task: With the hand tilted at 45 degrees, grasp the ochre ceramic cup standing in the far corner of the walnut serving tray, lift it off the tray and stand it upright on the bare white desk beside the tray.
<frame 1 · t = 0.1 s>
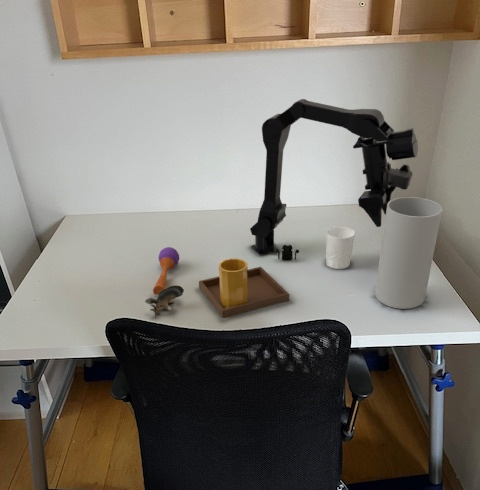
hand: (383, 220, 144), 15 cm above the table, tool pointing down, fingers open, 9 cm apart
white cup: (337, 264, 156), on the table
tray: (243, 296, 142), on the table
wireless earbuds: (286, 260, 159), on the table
cylinder vase: (399, 298, 140), on the table
eagle figurine: (166, 310, 137), on the table
cup: (234, 303, 138), point 1 cm above the table, touching tray
maraca: (166, 279, 151), on the table
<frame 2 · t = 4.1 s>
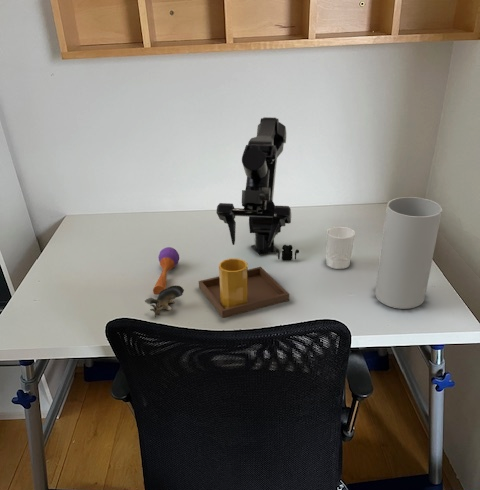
hand: (251, 245, 136), 14 cm above the table, tool tilted 45°, fingers open, 9 cm apart
nothing on the table moved.
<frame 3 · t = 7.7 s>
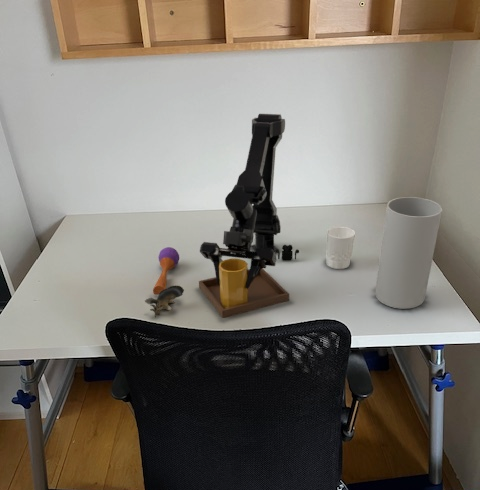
hand: (232, 286, 133), 7 cm above the table, tool tilted 45°, fingers closed on cup, 7 cm apart
cup: (234, 303, 138), point 1 cm above the table, touching gripper, tray
everything else where it was.
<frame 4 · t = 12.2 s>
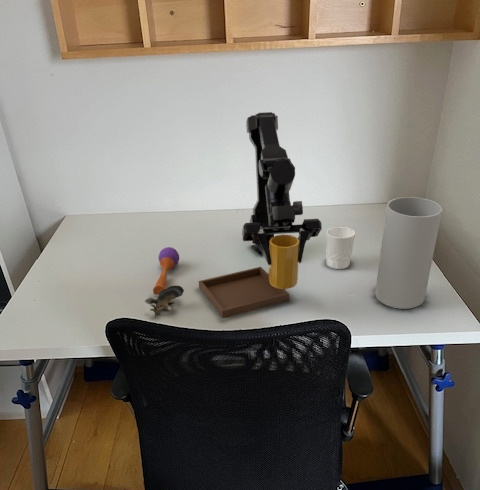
hand: (284, 263, 128), 13 cm above the table, tool tilted 45°, fingers closed on cup, 7 cm apart
cup: (283, 282, 133), point 8 cm above the table, touching gripper
everything else where it was.
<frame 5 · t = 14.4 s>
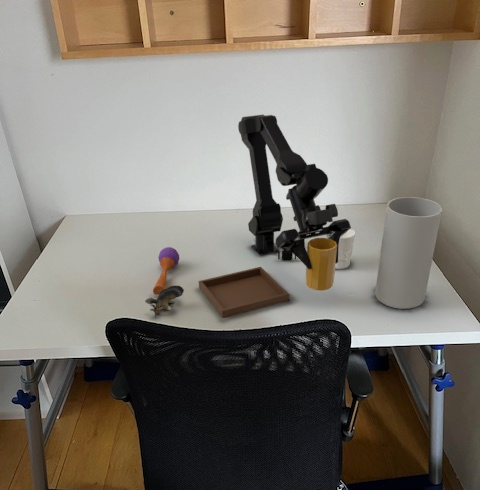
hand: (323, 265, 132), 11 cm above the table, tool tilted 45°, fingers closed on cup, 7 cm apart
cup: (319, 283, 136), point 5 cm above the table, touching gripper
everything else where it was.
when the fingers open (6 cm above the table, at t = 16.5 s): cup stays where it is, on the table.
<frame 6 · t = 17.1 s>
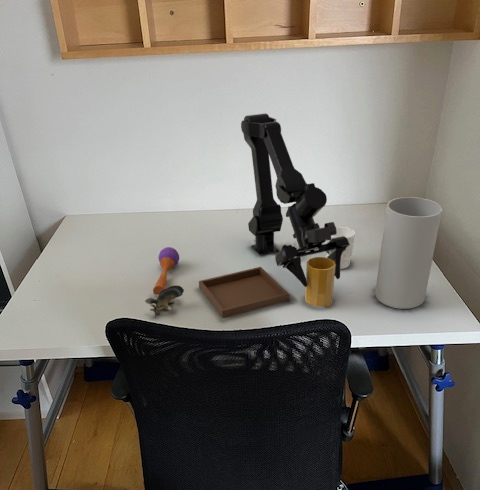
hand: (322, 282, 135), 6 cm above the table, tool tilted 45°, fingers open, 9 cm apart
cup: (318, 301, 139), on the table
everything else where it was.
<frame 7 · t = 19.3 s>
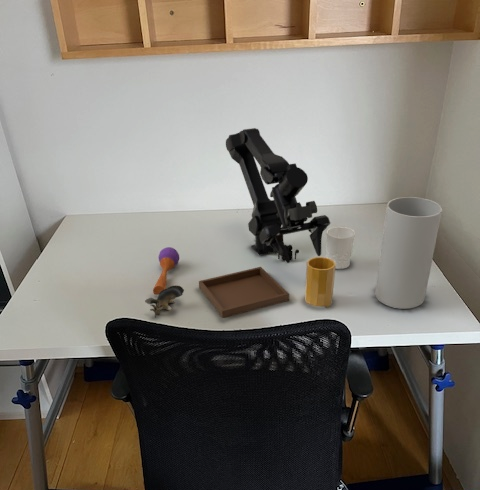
hand: (304, 259, 141), 8 cm above the table, tool tilted 45°, fingers open, 9 cm apart
nothing on the table moved.
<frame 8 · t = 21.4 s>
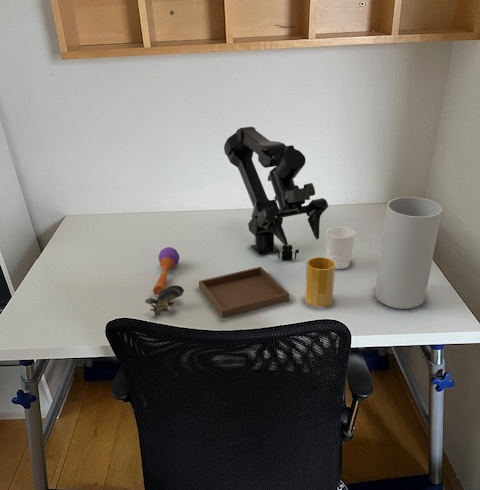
hand: (302, 242, 140), 13 cm above the table, tool tilted 45°, fingers open, 9 cm apart
nothing on the table moved.
at the end: cup inside the target area (0.0 cm from its centre), on the table; cup tilted 0°; cup touching table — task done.
